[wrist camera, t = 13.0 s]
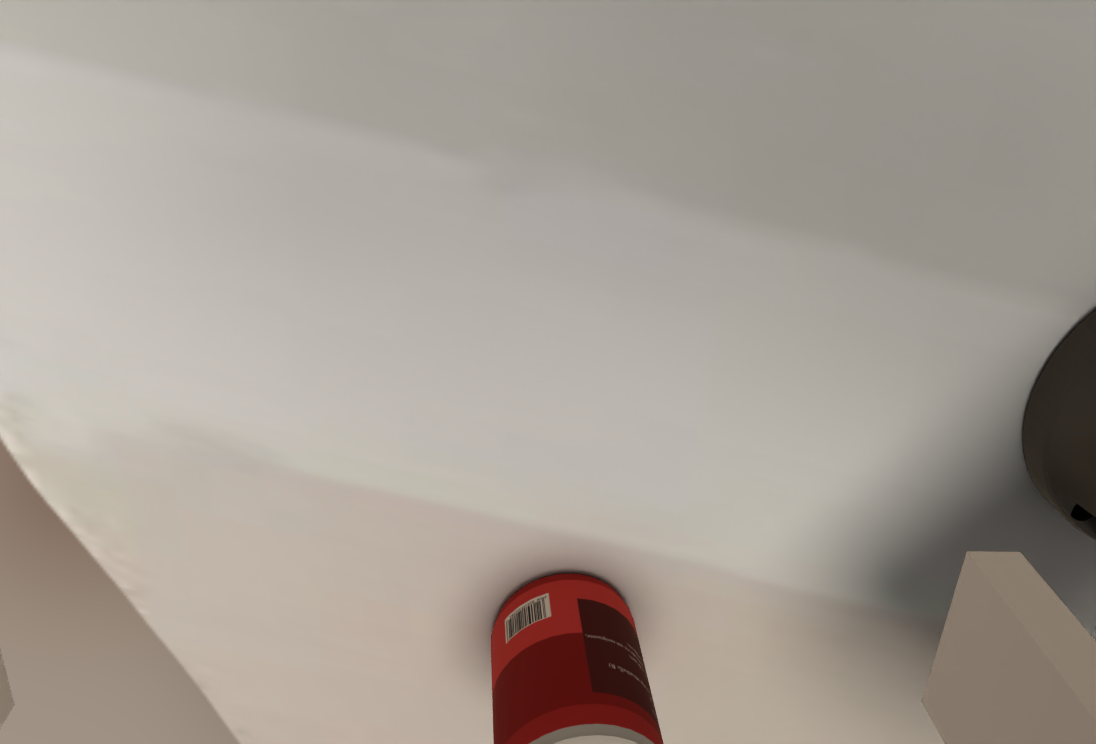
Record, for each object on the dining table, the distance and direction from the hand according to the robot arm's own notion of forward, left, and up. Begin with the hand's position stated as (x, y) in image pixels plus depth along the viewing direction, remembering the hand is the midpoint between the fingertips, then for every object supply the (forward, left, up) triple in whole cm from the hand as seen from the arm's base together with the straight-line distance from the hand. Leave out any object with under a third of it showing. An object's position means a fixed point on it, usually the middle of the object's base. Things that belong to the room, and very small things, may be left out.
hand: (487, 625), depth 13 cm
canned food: (-5, +26, -29) cm, 39 cm away
